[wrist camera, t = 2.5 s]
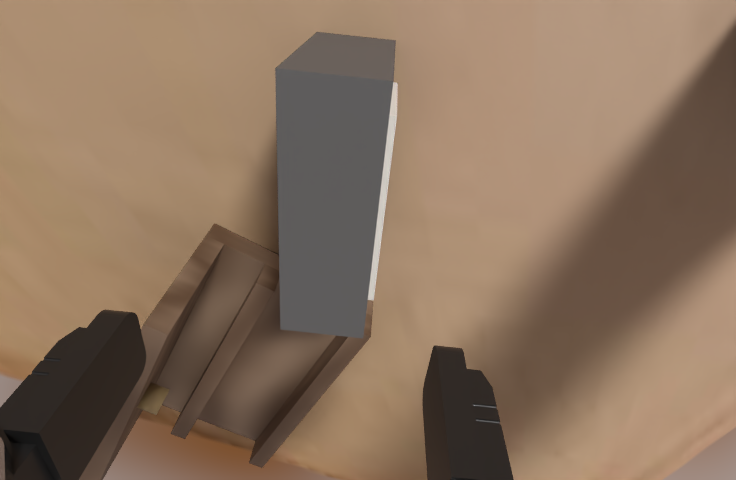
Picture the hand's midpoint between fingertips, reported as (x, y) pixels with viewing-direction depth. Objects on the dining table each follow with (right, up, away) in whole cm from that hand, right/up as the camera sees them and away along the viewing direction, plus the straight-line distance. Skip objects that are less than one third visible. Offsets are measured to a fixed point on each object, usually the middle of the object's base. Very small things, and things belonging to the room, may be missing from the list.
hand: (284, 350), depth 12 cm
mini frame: (+1, +8, +14) cm, 16 cm away
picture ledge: (-7, -5, +22) cm, 24 cm away
